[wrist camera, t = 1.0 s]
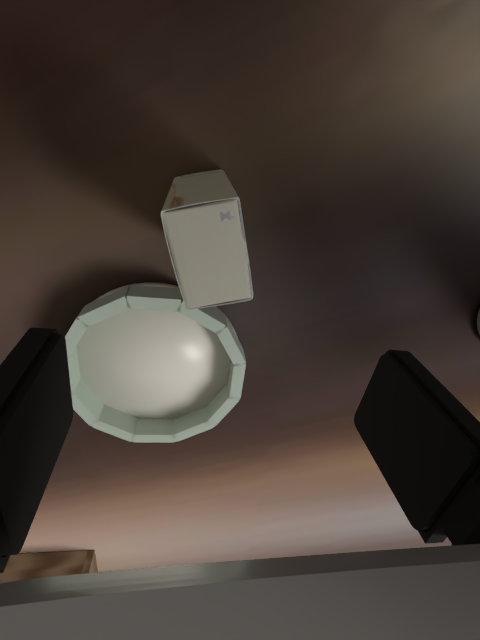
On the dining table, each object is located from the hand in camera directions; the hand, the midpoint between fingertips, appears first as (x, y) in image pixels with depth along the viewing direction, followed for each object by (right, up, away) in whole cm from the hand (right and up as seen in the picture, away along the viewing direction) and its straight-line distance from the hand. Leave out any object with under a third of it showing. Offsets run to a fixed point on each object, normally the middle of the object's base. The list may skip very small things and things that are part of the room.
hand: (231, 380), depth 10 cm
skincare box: (-3, +11, +19) cm, 23 cm away
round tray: (-9, -2, +26) cm, 28 cm away
